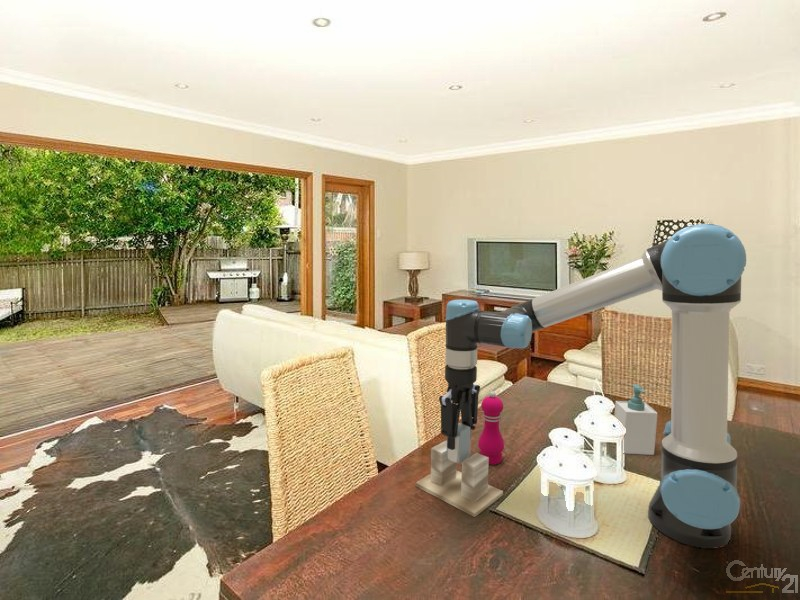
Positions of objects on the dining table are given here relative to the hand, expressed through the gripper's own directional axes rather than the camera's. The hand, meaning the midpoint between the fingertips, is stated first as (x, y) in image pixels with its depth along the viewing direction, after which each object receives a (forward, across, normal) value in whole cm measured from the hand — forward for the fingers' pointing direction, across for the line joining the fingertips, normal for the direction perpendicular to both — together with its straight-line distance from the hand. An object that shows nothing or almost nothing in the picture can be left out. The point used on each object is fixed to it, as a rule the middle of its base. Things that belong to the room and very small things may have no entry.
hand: (459, 456), depth 110 cm
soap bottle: (+9, -54, +24) cm, 60 cm away
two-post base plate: (+9, 0, 0) cm, 9 cm away
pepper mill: (+9, -19, -3) cm, 21 cm away
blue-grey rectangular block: (0, 0, 0) cm, 1 cm away
